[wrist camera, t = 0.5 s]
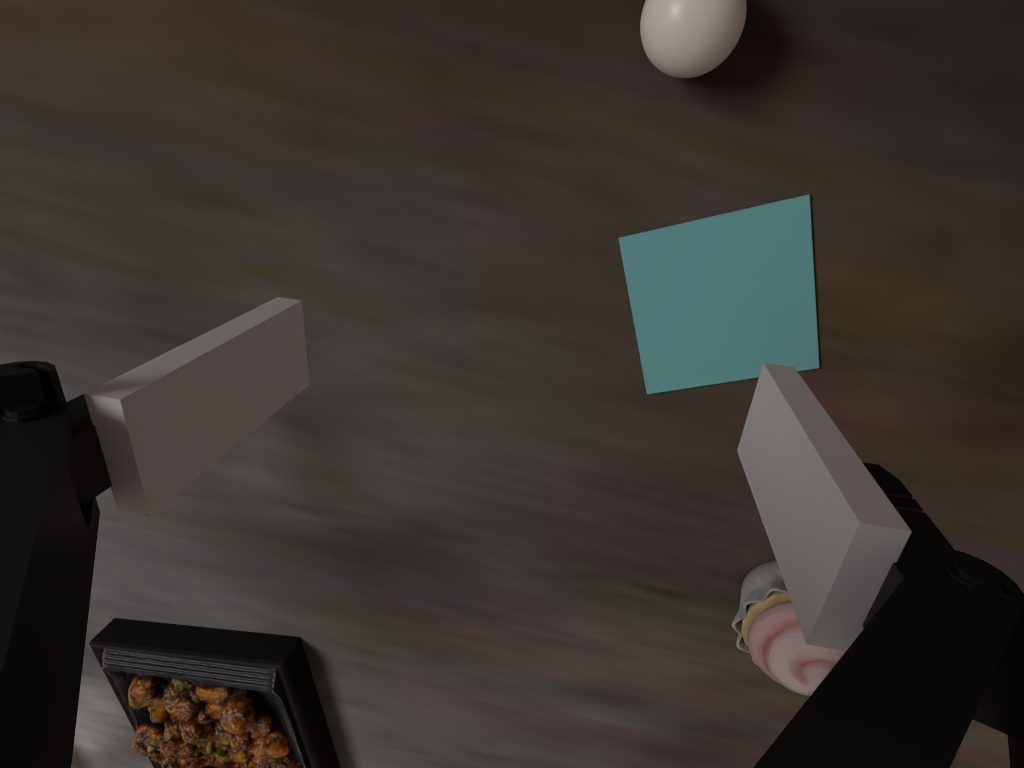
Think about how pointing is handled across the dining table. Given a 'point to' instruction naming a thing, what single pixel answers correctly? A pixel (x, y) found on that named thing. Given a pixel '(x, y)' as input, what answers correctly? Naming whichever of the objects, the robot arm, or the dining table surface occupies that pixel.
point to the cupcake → (778, 633)
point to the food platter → (215, 696)
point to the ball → (690, 34)
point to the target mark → (724, 296)
